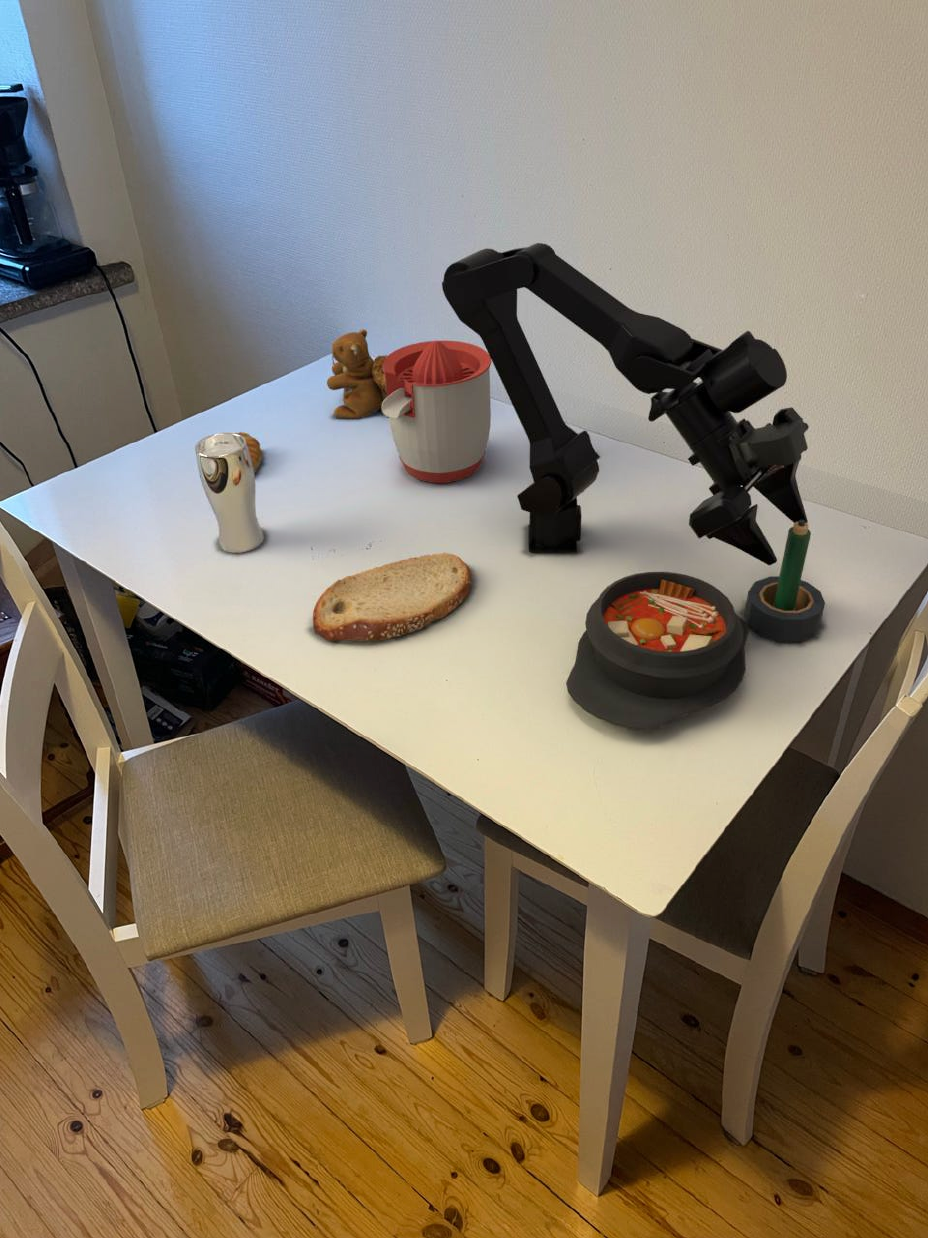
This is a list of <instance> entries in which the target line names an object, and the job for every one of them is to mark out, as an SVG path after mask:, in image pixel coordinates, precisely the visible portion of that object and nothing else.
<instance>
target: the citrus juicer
mask: <svg viewBox="0 0 928 1238" xmlns="http://www.w3.org/2000/svg"><path fill="white" fill-rule="evenodd" d="M491 365H492V360H491V358H490V355H489V353H488V351H487V350H485V349H484V348H482V347H480V346H478V345H474V344H472V343H469V342H464V341H457V340H427V341H422V342H417V343H412V344H409V345H406V346H403V347H400V348H397V349H395V350H394V351H392V352H391V353H389V354H388V355H387V357H386V358H385V360H384V362H383V370H384V373H385V382H386V392H387V398H386V399H385V400H384V401H383V403H382V411H381V413H382V414H383V415H384V417H386V418H388V419H389V425H390V432H391V435H392V438H393V442H394V446H395V449H396V450H397V452H398V456H399V460H400V462H401V463H402V465H403V468H405V470H406V472H407V473H408V474H409V475H410V476H412V477H413V478H415V479H417V480H420V481H423V482H428V483H436V484H441V485H442V484H447V483H451V482H457V481H460V480H464V479H466V478H469V477H470V476H472V475H474V474H475V473H476V472H477V471H478V470H479V469H480V467H481V465H482V463H483V460H484V458H485V455H486V451H487V450H486V449H487V446H488V442H489V438H490V431H491V421H492V410H491V409H492V407H491V372H490V371H491V370H490V369H491Z"/></svg>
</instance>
